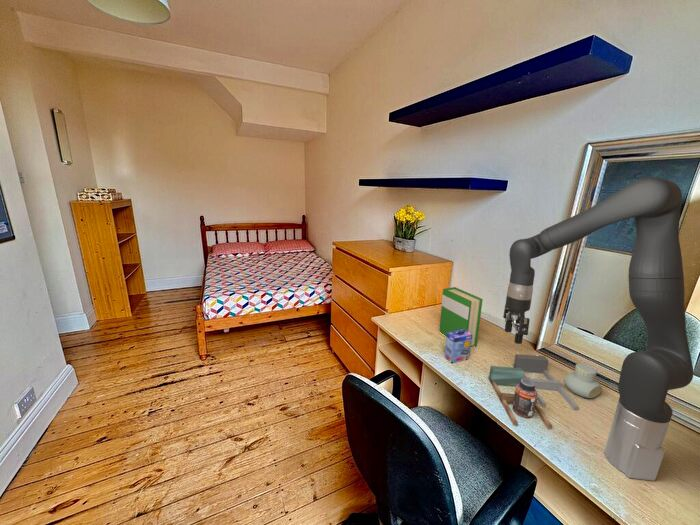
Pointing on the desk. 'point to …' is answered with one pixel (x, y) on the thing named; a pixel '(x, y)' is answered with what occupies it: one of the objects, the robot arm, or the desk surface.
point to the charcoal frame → (540, 366)
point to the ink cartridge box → (458, 345)
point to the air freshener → (583, 381)
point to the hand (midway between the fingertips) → (512, 337)
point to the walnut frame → (511, 378)
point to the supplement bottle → (525, 398)
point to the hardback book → (460, 312)
